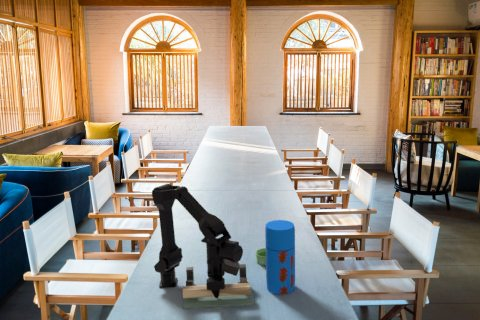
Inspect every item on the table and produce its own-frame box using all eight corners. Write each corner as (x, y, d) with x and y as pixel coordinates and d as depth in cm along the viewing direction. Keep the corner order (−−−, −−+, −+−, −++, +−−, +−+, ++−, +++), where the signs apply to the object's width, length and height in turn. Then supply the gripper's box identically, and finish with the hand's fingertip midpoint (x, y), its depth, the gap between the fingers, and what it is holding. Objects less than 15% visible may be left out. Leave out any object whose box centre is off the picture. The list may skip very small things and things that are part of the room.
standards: (185, 286, 174) (184, 267, 172) (248, 283, 175) (247, 263, 173) (184, 295, 167) (183, 275, 165) (249, 292, 168) (248, 272, 166)
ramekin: (272, 255, 198) (271, 246, 198) (280, 264, 190) (280, 254, 189) (252, 259, 196) (252, 249, 195) (260, 268, 187) (260, 258, 186)
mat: (184, 296, 166) (184, 294, 166) (252, 292, 167) (252, 291, 167) (182, 308, 158) (182, 307, 158) (254, 304, 159) (254, 303, 159)
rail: (183, 293, 163) (183, 286, 163) (249, 290, 164) (249, 282, 164) (183, 298, 160) (182, 290, 160) (250, 294, 161) (250, 286, 161)
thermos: (266, 280, 176) (264, 220, 171) (293, 280, 176) (293, 219, 170) (266, 295, 165) (265, 230, 160) (296, 294, 165) (295, 230, 160)
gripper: (239, 265, 150) (240, 308, 154) (236, 243, 168) (238, 281, 172) (205, 267, 150) (207, 310, 153) (206, 244, 168) (208, 283, 171)
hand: (216, 295), depth 162 cm, fingers closed on rail, 3 cm apart
